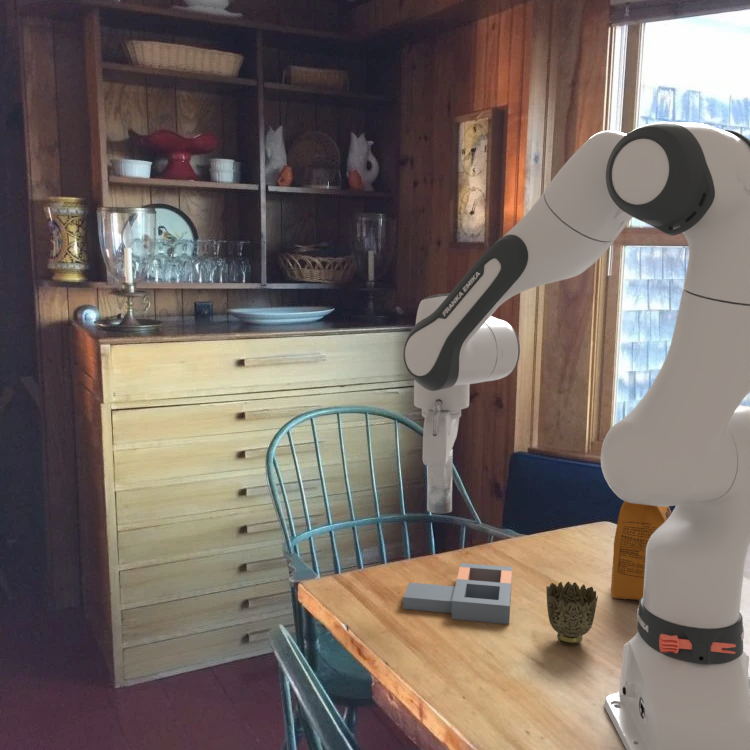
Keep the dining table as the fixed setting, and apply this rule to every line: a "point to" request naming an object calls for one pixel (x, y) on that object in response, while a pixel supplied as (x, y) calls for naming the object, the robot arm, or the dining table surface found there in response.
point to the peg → (440, 490)
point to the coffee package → (633, 547)
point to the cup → (571, 611)
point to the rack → (467, 594)
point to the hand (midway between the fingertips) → (440, 479)
